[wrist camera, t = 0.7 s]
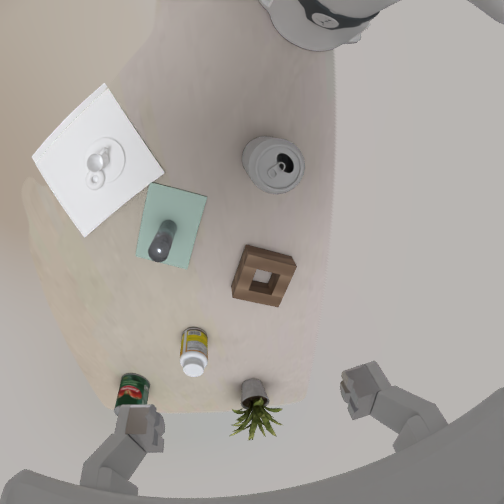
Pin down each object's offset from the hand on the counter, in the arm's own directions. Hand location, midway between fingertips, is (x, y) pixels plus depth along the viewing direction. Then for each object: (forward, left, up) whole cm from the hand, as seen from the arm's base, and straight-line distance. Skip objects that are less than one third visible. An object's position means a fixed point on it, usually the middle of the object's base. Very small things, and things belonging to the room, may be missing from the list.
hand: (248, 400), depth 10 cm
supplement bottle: (+32, +3, -39) cm, 51 cm away
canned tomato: (+54, -9, -39) cm, 67 cm away
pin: (+9, -7, -39) cm, 40 cm away
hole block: (+13, +11, -39) cm, 43 cm away
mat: (+9, -7, -39) cm, 41 cm away
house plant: (+45, +20, -39) cm, 63 cm away
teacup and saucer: (+1, -24, -39) cm, 46 cm away
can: (-7, +5, -39) cm, 40 cm away
